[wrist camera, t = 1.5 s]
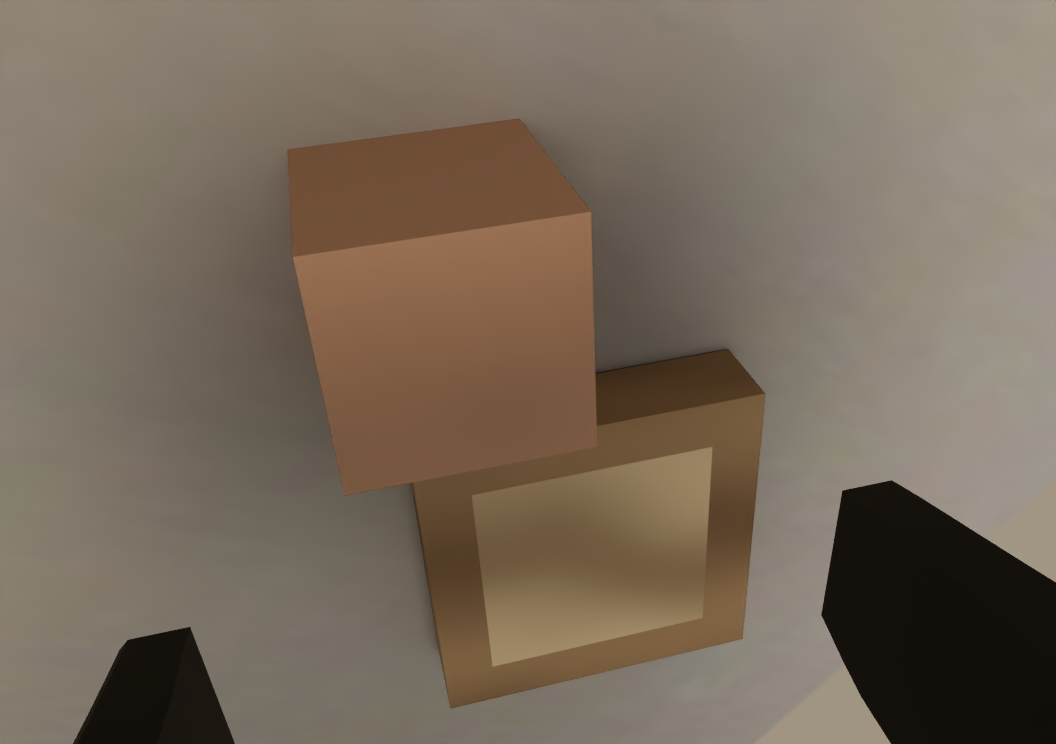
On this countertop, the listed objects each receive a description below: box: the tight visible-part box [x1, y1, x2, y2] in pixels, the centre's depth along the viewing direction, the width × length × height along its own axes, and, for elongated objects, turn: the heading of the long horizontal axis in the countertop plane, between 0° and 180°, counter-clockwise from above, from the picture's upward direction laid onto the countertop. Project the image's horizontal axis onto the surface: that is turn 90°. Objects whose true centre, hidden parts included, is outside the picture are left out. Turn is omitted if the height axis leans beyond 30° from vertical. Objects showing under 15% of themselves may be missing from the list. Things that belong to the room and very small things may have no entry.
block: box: [288, 119, 597, 496], centre depth 17 cm, size 4×4×5 cm
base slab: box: [411, 349, 765, 708], centre depth 23 cm, size 8×8×2 cm
